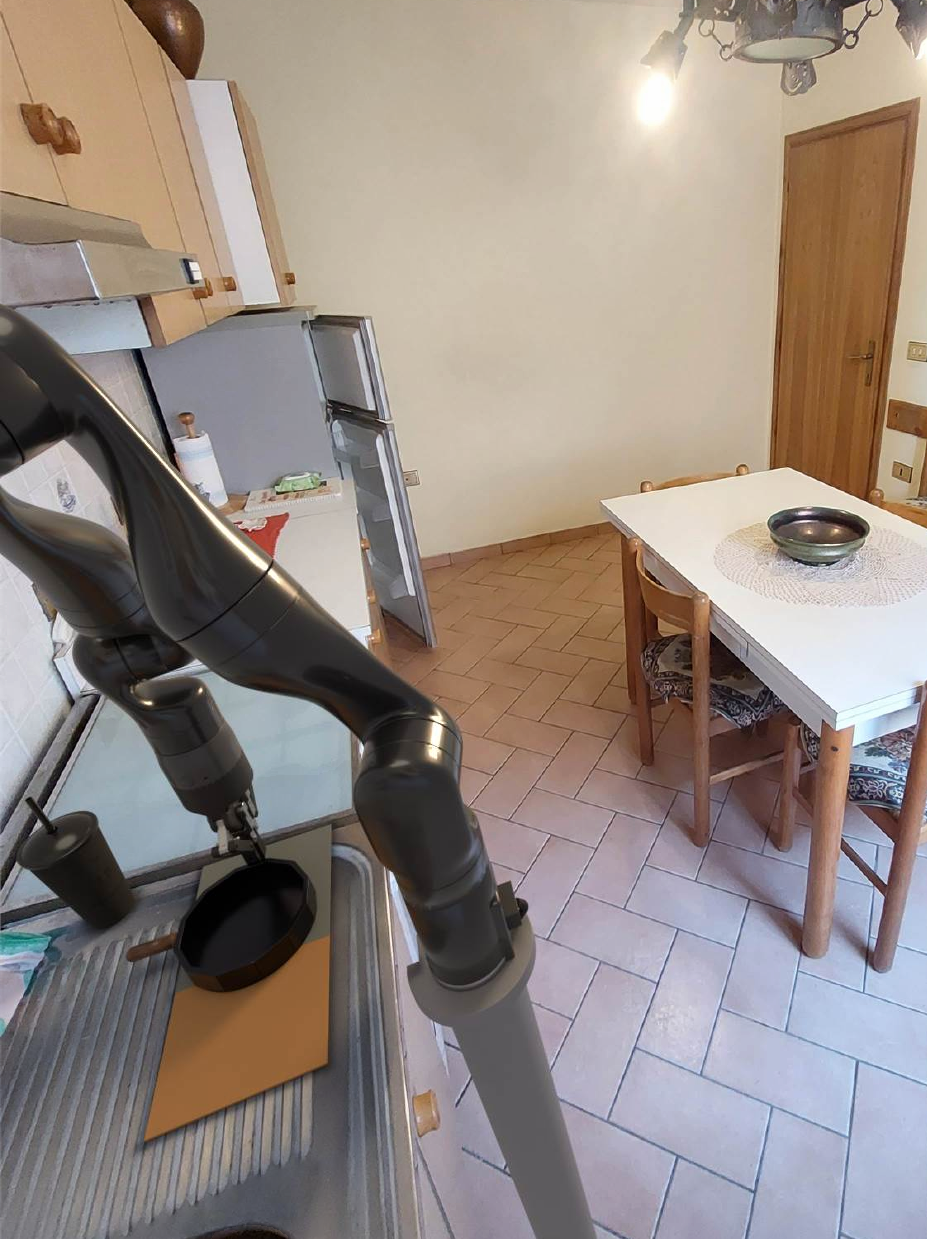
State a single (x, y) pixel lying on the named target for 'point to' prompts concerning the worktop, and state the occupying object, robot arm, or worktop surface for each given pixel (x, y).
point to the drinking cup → (77, 866)
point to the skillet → (241, 926)
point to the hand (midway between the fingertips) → (257, 857)
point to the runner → (250, 1013)
